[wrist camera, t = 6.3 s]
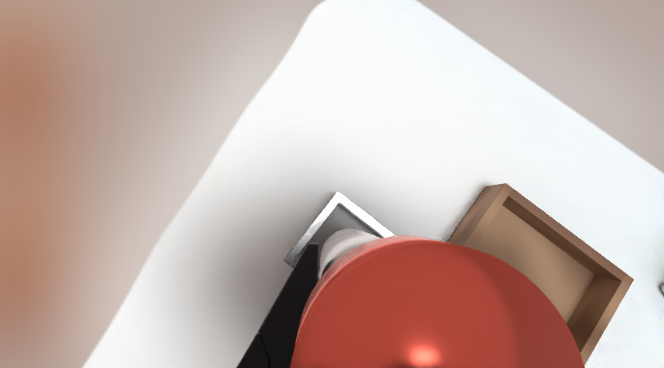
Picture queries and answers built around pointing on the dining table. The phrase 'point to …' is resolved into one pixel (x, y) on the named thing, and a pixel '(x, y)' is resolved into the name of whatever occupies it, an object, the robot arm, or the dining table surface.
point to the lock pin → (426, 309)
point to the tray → (547, 260)
